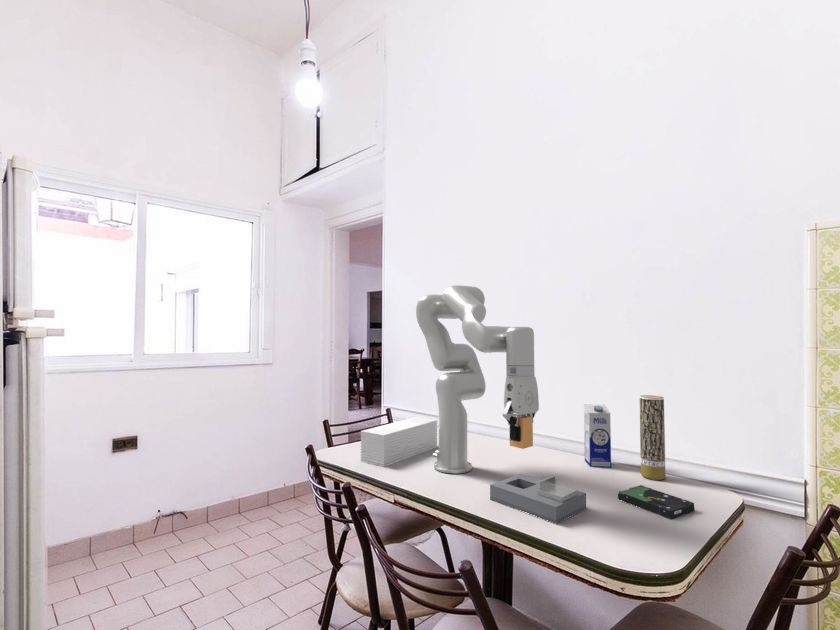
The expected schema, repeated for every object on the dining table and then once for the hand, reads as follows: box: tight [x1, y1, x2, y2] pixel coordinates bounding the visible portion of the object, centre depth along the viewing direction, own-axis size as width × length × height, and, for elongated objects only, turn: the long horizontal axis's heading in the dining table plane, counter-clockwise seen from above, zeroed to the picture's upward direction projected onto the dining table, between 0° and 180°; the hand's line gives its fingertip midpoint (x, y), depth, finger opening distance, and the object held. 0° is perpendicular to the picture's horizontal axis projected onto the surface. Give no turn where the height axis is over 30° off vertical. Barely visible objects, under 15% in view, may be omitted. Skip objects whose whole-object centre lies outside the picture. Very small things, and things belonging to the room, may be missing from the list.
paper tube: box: [639, 394, 666, 481], centre depth 137 cm, size 7×7×25 cm
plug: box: [509, 415, 534, 450], centre depth 119 cm, size 4×4×8 cm
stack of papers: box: [360, 416, 438, 468], centre depth 163 cm, size 32×11×11 cm, turn 144°
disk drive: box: [617, 484, 695, 520], centre depth 115 cm, size 10×3×15 cm
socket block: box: [489, 473, 587, 524], centre depth 115 cm, size 20×14×4 cm
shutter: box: [537, 475, 578, 502], centre depth 111 cm, size 7×7×3 cm
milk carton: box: [583, 403, 612, 468], centre depth 151 cm, size 7×7×20 cm
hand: (521, 438), depth 119 cm, fingers closed on plug, 4 cm apart
